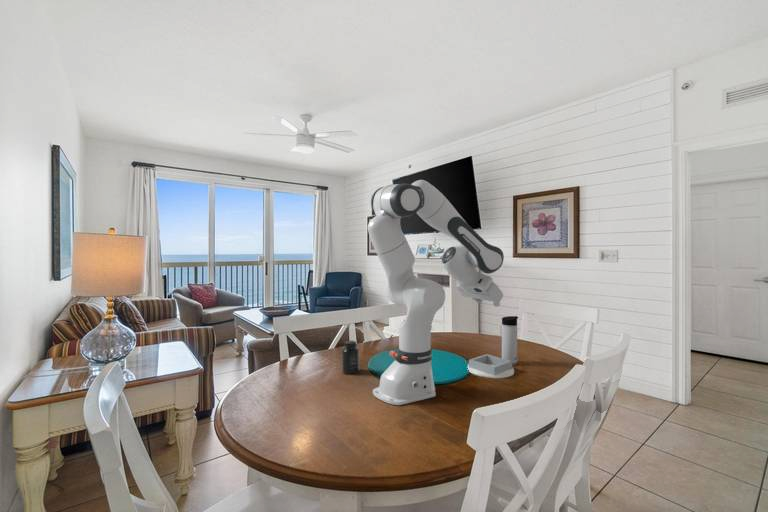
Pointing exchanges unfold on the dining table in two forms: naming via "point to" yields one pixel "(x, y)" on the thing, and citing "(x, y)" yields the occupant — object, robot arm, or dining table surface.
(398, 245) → the robot arm
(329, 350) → the dining table surface
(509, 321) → the travel mug
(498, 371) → the stand
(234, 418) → the dining table surface
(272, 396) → the dining table surface
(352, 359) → the supplement bottle
